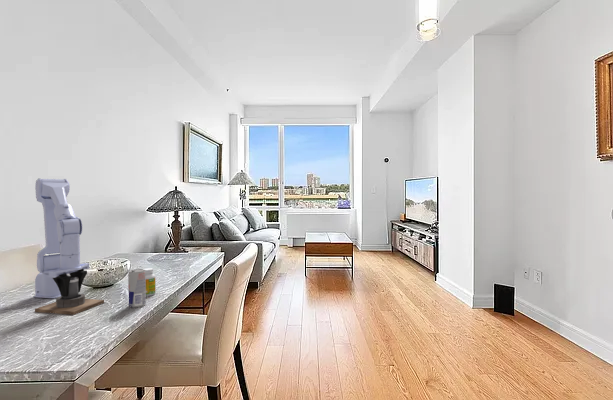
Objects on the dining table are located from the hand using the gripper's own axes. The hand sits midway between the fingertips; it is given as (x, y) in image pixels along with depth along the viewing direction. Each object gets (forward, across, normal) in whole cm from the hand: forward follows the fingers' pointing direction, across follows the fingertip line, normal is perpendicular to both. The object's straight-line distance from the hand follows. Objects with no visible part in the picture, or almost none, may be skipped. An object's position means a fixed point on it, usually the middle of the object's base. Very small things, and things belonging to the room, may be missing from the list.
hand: (70, 294), depth 125 cm
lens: (+2, 0, 0) cm, 2 cm away
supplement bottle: (+5, +19, -16) cm, 25 cm away
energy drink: (+5, +6, -21) cm, 22 cm away
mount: (+4, 0, 0) cm, 4 cm away
